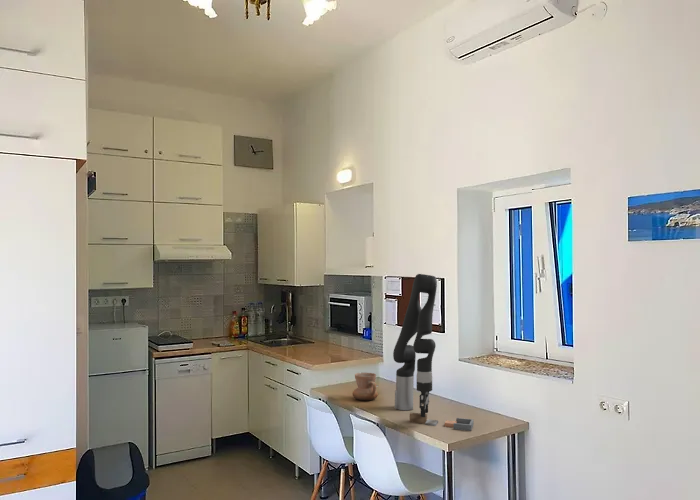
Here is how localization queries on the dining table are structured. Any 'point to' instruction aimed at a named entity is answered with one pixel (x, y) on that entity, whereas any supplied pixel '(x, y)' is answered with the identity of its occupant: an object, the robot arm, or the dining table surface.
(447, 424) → the tile
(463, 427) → the bay
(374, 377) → the ceramic jug
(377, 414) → the dining table surface
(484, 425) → the dining table surface
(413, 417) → the brown and grey scraper
